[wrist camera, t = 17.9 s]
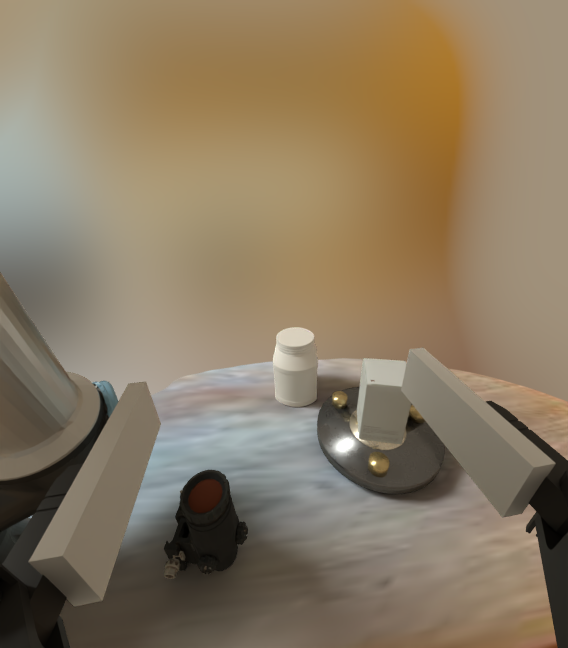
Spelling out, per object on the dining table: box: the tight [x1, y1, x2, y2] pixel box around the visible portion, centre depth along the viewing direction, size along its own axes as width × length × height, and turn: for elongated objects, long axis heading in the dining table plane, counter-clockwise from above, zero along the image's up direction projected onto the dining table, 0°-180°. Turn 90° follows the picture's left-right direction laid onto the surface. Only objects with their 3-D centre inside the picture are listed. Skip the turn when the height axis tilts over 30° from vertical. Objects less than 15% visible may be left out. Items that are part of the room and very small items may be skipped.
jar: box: [273, 327, 318, 407], centre depth 61 cm, size 12×10×15 cm
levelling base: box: [317, 387, 444, 494], centre depth 50 cm, size 22×22×6 cm
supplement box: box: [357, 358, 411, 444], centre depth 46 cm, size 7×7×13 cm
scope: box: [164, 470, 248, 579], centre depth 33 cm, size 8×14×10 cm
